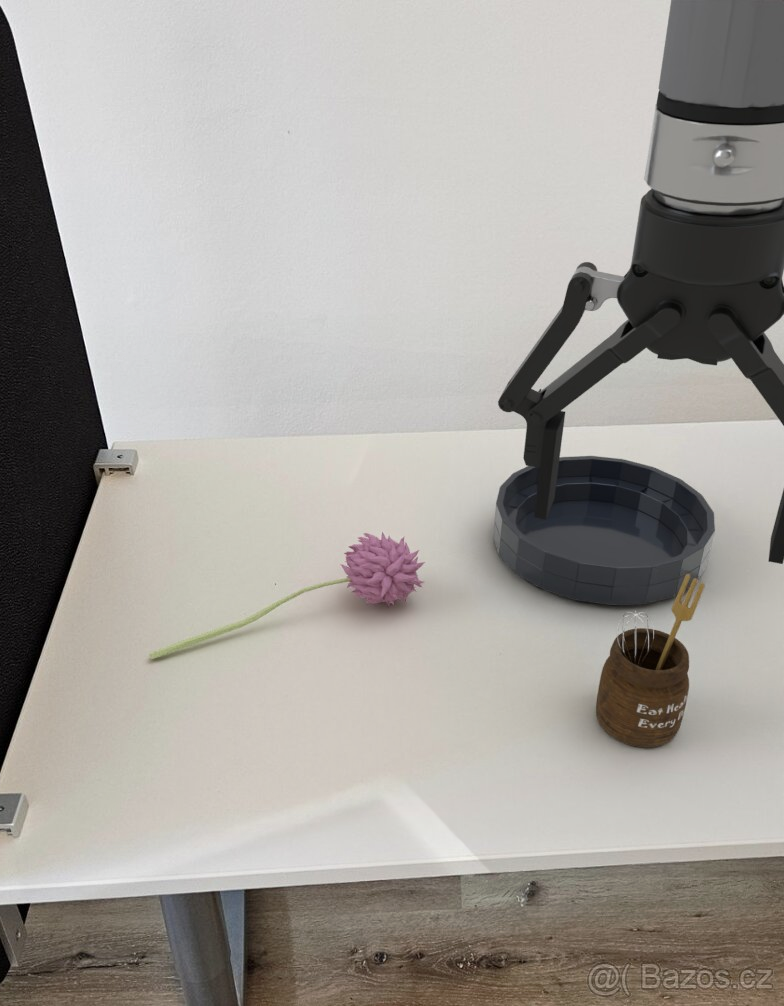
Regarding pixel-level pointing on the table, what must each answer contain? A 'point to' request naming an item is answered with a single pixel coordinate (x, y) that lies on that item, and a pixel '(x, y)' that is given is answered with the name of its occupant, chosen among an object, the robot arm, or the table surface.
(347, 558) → the artificial flower
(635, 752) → the table surface
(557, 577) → the bowl
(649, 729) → the utensil holder
